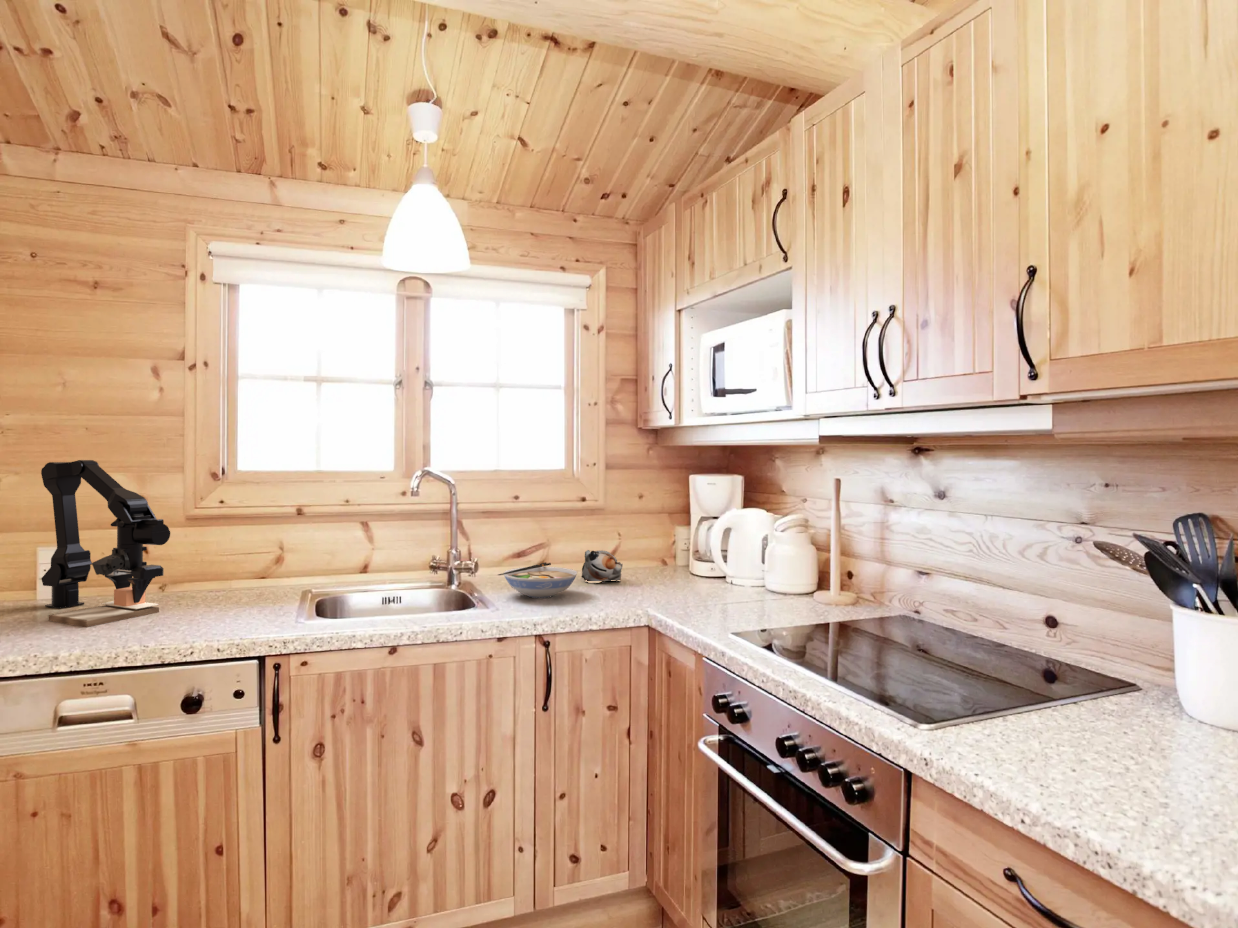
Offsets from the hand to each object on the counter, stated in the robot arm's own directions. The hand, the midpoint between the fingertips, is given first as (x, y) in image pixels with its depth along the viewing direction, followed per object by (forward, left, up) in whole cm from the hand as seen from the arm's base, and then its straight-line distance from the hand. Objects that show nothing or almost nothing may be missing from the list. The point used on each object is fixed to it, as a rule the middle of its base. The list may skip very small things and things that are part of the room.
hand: (129, 601), depth 189 cm
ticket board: (0, -6, -3) cm, 7 cm away
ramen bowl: (+88, +67, -3) cm, 110 cm away
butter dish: (0, 0, -1) cm, 1 cm away
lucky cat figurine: (+96, +98, -3) cm, 137 cm away
